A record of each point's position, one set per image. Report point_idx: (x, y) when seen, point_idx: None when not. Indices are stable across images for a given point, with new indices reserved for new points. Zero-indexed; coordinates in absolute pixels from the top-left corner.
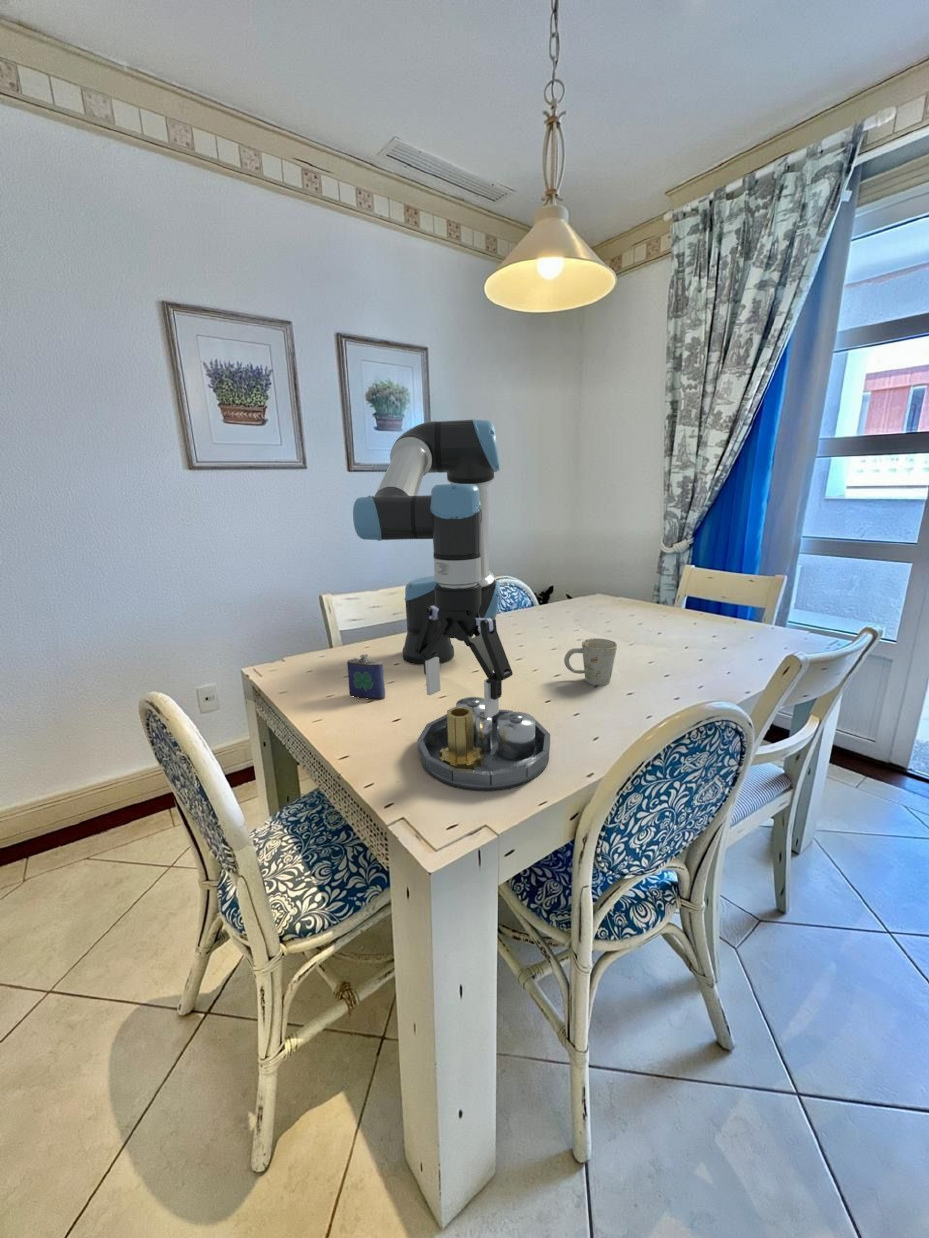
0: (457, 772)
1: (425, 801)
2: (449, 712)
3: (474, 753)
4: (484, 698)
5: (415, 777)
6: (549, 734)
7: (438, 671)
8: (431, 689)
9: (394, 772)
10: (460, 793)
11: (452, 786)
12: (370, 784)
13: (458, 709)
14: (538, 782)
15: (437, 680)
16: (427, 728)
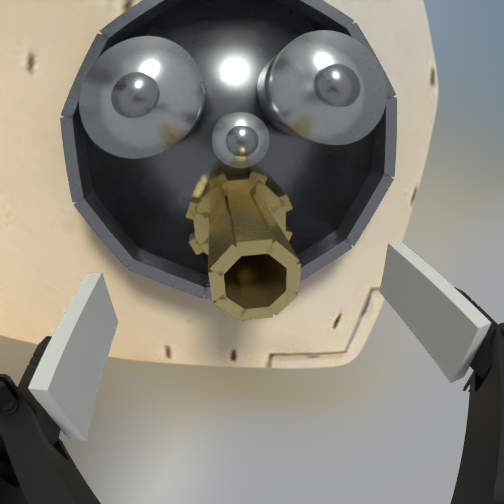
0: None
1: (267, 319)
2: (229, 305)
3: (264, 202)
4: (413, 332)
5: None
6: (354, 23)
7: (75, 337)
8: (109, 327)
9: (159, 311)
10: None
11: None
12: (167, 349)
13: (229, 266)
14: None
15: (91, 316)
16: (92, 216)
